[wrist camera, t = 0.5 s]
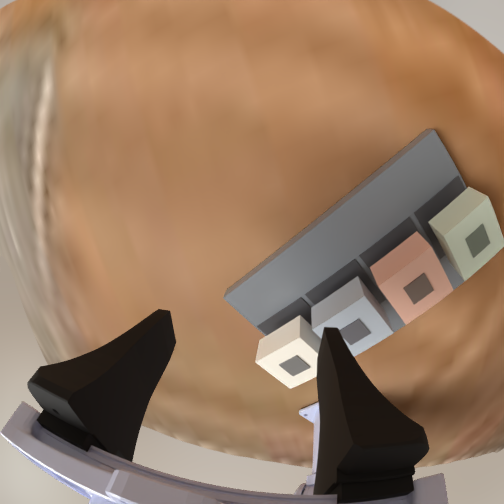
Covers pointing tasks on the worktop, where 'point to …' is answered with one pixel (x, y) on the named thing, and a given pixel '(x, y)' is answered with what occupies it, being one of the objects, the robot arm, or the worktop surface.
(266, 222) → the worktop surface
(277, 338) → the key
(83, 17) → the worktop surface
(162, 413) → the worktop surface
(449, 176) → the keypad board
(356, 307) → the key
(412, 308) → the key
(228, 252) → the worktop surface
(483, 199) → the key
